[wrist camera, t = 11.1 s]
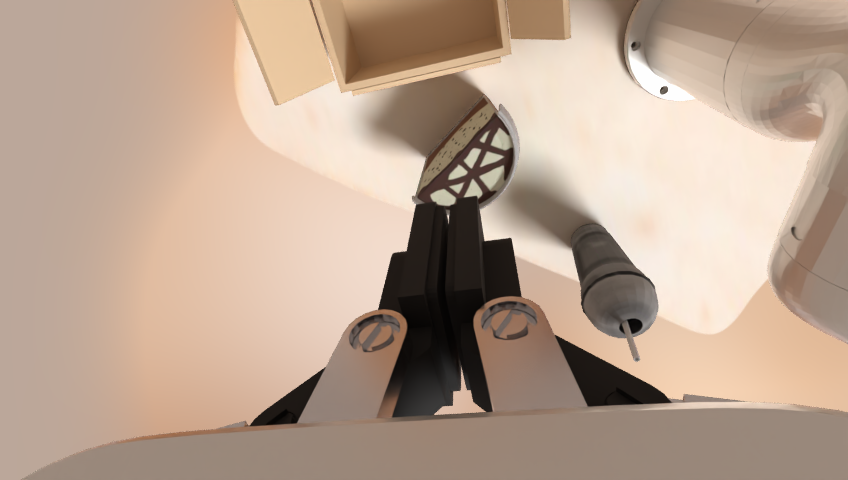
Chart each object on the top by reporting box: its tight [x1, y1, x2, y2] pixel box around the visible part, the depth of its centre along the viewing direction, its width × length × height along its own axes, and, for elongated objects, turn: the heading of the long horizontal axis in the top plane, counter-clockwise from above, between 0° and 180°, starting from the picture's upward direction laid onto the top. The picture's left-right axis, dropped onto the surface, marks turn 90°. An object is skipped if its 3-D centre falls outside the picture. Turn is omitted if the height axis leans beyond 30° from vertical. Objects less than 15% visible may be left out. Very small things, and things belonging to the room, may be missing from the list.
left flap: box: [233, 0, 335, 105], centre depth 32 cm, size 6×14×1 cm
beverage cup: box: [571, 224, 658, 362], centre depth 45 cm, size 7×7×20 cm
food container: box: [412, 94, 520, 215], centre depth 44 cm, size 12×6×10 cm, turn 140°
